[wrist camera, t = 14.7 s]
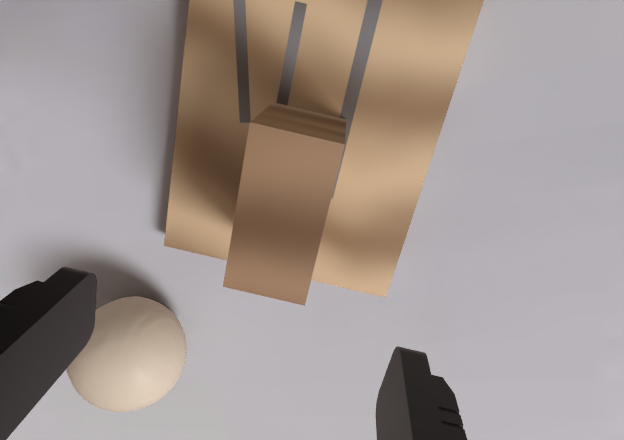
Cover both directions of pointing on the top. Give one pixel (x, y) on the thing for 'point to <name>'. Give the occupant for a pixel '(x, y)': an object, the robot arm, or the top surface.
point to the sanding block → (283, 201)
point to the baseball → (130, 355)
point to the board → (323, 99)
